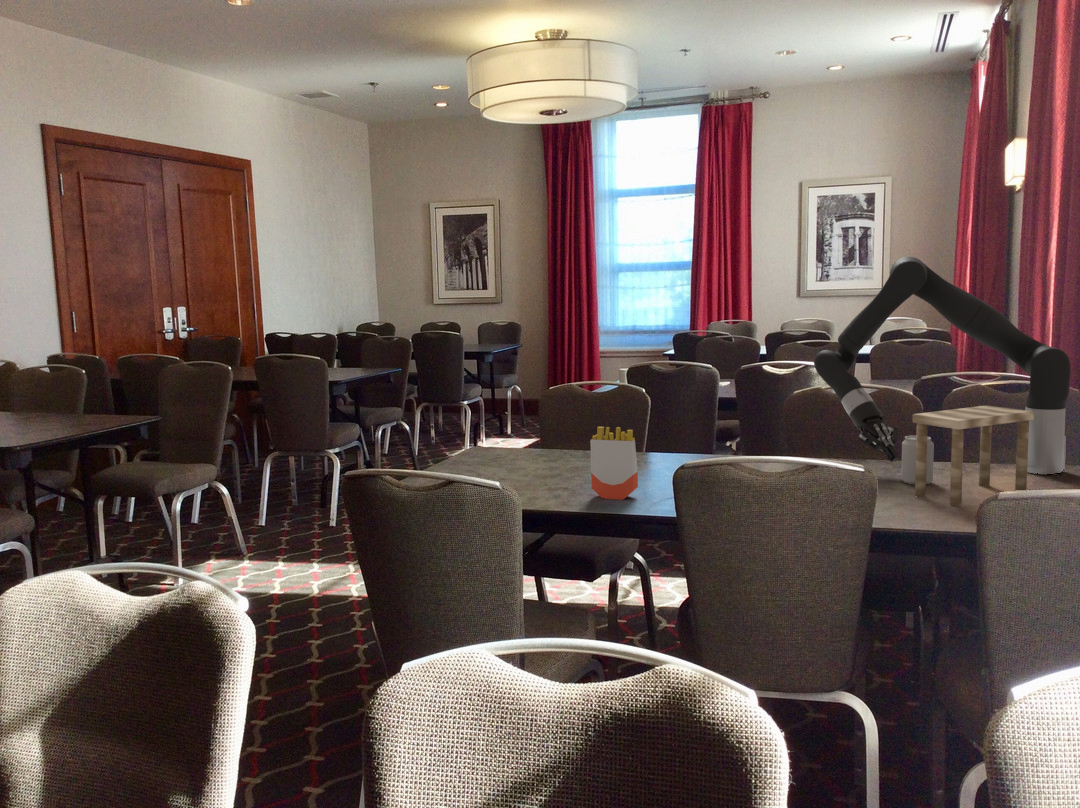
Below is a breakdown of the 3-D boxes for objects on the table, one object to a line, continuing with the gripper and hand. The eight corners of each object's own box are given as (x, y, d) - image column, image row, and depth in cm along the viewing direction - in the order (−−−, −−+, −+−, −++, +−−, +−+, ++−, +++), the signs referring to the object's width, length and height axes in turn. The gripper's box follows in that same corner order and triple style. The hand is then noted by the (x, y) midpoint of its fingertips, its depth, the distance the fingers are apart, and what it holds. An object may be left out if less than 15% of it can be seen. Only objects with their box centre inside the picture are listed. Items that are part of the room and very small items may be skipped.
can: (936, 486, 222) (937, 439, 220) (904, 486, 223) (905, 439, 221) (928, 479, 229) (929, 434, 227) (898, 479, 230) (899, 434, 229)
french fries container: (597, 493, 225) (595, 424, 223) (638, 496, 221) (637, 425, 219) (591, 497, 221) (589, 427, 219) (633, 500, 217) (632, 428, 214)
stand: (983, 483, 222) (985, 405, 220) (1030, 493, 211) (1034, 411, 208) (910, 496, 212) (912, 414, 210) (956, 507, 200) (959, 420, 198)
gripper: (850, 402, 236) (884, 454, 226) (887, 398, 241) (922, 448, 232) (835, 419, 241) (868, 470, 232) (872, 415, 247) (905, 465, 237)
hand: (895, 459), depth 232 cm, fingers closed
